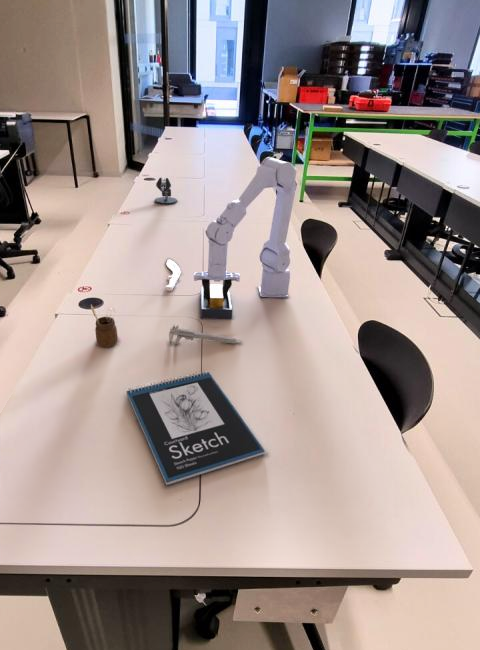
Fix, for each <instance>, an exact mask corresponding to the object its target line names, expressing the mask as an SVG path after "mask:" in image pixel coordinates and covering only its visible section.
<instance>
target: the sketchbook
mask: <svg viewBox="0 0 480 650" xmlns="http://www.w3.org/2000/svg"><path fill="white" fill-rule="evenodd" d="M146 385H147V386H146ZM136 387H137V388H135V386H134V387H133V389H132V387H129V388H128V390H127V391H126V397H127V399H128V400H129V403H130V406H131V408H132V409H133V410H132V411H133V412H134V414H135V416H136V418H137V421H138V424H139V426H140V428H141V431H142V432H143V435H144V437H145V439H146V442H147V444H148V446H149V449H150V450H151V453H152V455H153V458H154V460H155V462H156V464H157V467H158V469H159V471H160V474H161V476H162V478H163V480H164V483H165V485H166V486H170V485H173V484H177V483H180V482H183V481H186V480H189V479H192V478H195V477H199V476H201V475H202V476H203V475H205V474H208V473H211V472H214V471H217V470H220V469H223V468H227V467H229V466H233V465H235V464H239V463H243V462H244V461H248V460H251V459H254V458H258V457H260V456H264V455H265V452H266V451H265V449H264V448H263V446H262V445H261V443H260V442H259V440H258V439H257V438H256V437H255V435H254V434H253V432H252V430H251V429H250V428H249V426H248V425H247V424H246V422H245V421H244V420H243V418H242V416H240V414H239V413H238V411H237V410H236V408H235V407H234V405H233V404H232V403H231V401H230V399H229V398H228V397H227V396H226V394H225V393H224V391H223V390H222V388H221V387H220V385H219V384H218V383H217V382H216V380H215V379H214V377H213V376H212V374H211V373H210V372H209V371H206V370H204V371H203V370H202V371H199V372H195V373H192V374H191V373H189V375H188V374H186V376H185V375H183V377H182V376H181V375H180V377H179V376H177V377H173V378H170V380H169V378H167V379H163V381H162V380H160V383H159V381H157V383H156V382H155V381H154V383H152V382H150V384H148V383H147V384H143V386H142V385H140V387H139V386H136Z"/></svg>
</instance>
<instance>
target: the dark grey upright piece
mask: <svg viewBox="0 0 480 650" xmlns="http://www.w3.org/2000/svg"><path fill="white" fill-rule="evenodd" d="M155 187H156V188H157V189H158V190H159V191H160V193H161V197H157V198H156V197H155V198H154V203H156V204H158V205H165V206H168V205H175V204H176V203H178V199H177V198H175V197H171V196H172V189H171V187H172V183H171V181H170V179H169V178H168V177H165V178H164V179H163V178H162V176H161V177H159V178H158V180H157V181H156V184H155Z"/></svg>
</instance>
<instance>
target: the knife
mask: <svg viewBox="0 0 480 650" xmlns="http://www.w3.org/2000/svg"><path fill="white" fill-rule="evenodd" d="M165 265H166V267H167V268H168V269H169V270H170V271H172V274H171V275H168V276H167V280H168V285H165V286H164V288H163V289H164V290H165V291H167V292H172V291H173V290H174V288H175V286H176V284H177V282H178V280H179V277H180V276H181V274H182V273H181V268H180V267H179V266H178V264H177V263H176V262H175V261H173V260H172V259H170V258H169V259H167V261H166V264H165Z"/></svg>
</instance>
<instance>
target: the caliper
mask: <svg viewBox="0 0 480 650" xmlns="http://www.w3.org/2000/svg"><path fill="white" fill-rule="evenodd" d="M179 326H180V325H179V324H177V325H175V324H173V326H171V327H170V329H169V333H168V340H169V341H168V342H169V344H170V345H171V344H172V343H173V339H174V336H176V338H175V345H178V344H179V343H180V341H181V339H182V338H184V339H185V340H190V341H194V339H199V340H205V341H213V342H219V343H226V344H232V345H235V344H241V341H240V340H239V339H237V338H236V337H231V336H224V335H219V334H218V335H217V334H212V333H205V332H198V331H196V330H194V329H187V328H181V327H179Z"/></svg>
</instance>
